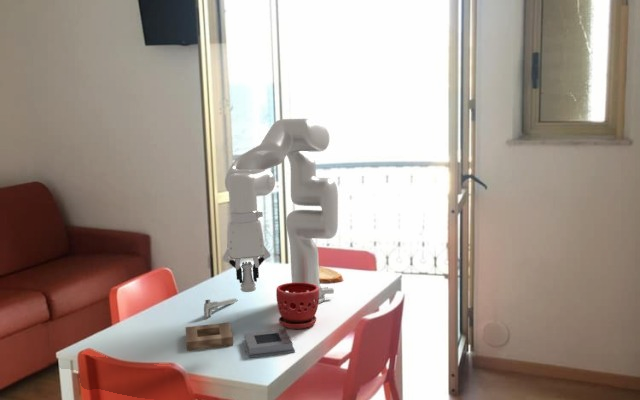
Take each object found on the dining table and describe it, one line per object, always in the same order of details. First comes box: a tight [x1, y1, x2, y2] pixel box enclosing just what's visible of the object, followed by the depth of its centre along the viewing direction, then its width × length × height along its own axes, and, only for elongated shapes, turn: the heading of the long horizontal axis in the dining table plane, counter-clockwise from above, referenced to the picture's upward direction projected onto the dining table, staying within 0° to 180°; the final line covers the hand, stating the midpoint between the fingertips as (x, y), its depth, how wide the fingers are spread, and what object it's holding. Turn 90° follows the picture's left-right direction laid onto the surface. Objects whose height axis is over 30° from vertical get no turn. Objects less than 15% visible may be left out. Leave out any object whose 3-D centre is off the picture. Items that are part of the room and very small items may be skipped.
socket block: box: [184, 322, 234, 351], centre depth 200 cm, size 13×13×2 cm
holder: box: [242, 328, 296, 359], centre depth 193 cm, size 13×13×2 cm
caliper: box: [203, 298, 239, 320], centre depth 228 cm, size 20×1×6 cm, turn 158°
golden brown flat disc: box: [319, 265, 344, 284], centre depth 263 cm, size 18×18×4 cm
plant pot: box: [275, 282, 319, 330], centre depth 210 cm, size 13×13×12 cm
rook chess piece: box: [240, 261, 257, 293], centre depth 192 cm, size 4×4×8 cm
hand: (247, 280), depth 192 cm, fingers closed on rook chess piece, 3 cm apart
